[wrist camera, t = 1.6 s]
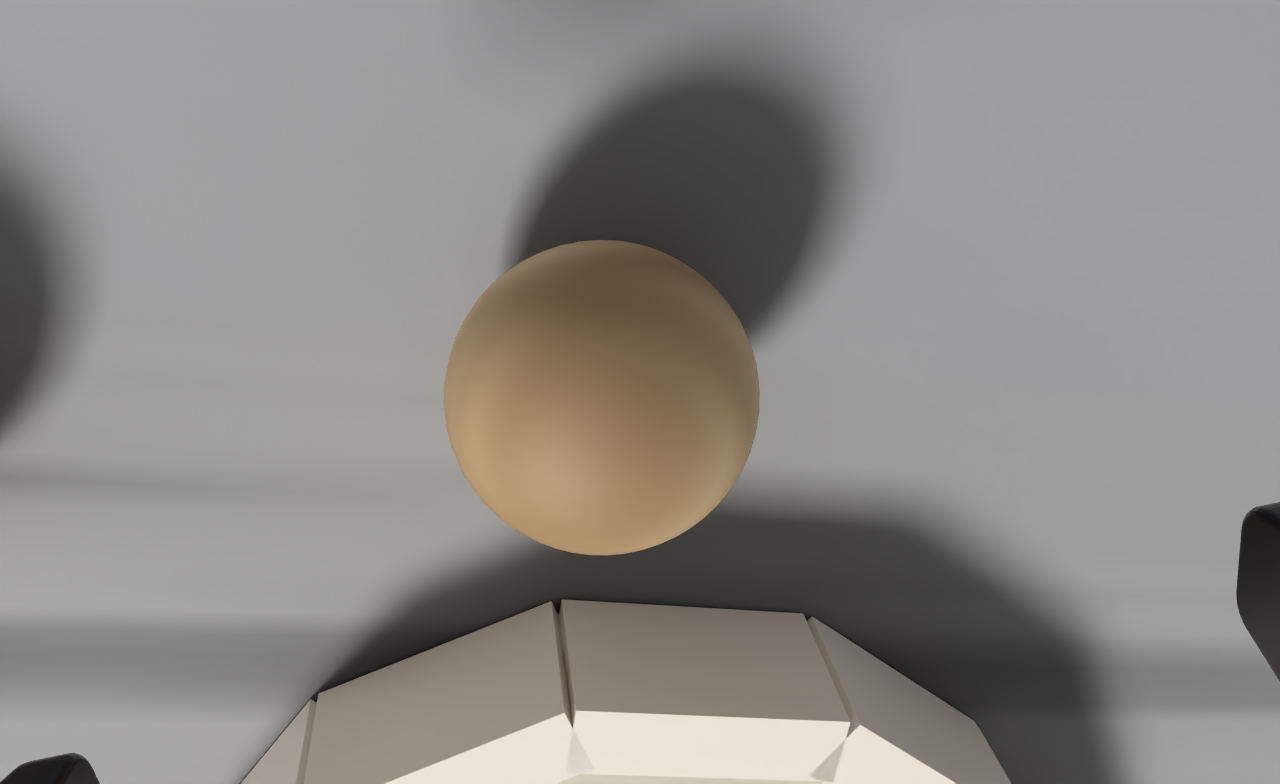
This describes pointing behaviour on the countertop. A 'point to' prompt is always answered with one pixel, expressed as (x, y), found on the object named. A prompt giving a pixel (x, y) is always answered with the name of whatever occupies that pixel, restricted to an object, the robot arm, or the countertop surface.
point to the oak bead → (601, 397)
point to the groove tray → (634, 708)
